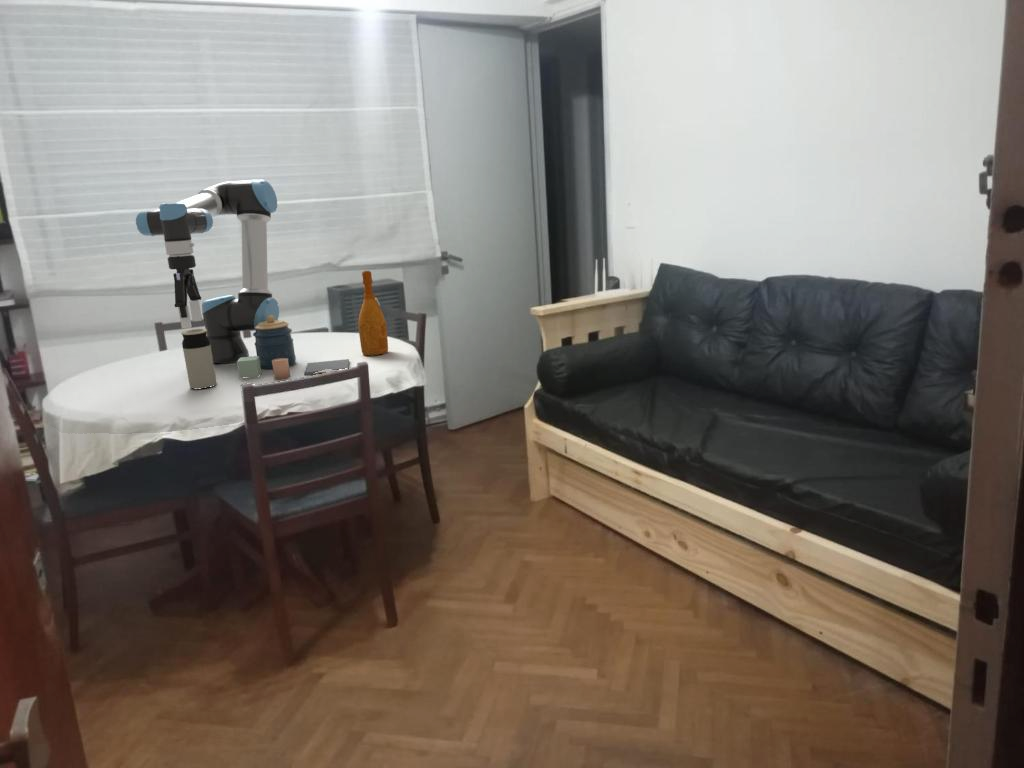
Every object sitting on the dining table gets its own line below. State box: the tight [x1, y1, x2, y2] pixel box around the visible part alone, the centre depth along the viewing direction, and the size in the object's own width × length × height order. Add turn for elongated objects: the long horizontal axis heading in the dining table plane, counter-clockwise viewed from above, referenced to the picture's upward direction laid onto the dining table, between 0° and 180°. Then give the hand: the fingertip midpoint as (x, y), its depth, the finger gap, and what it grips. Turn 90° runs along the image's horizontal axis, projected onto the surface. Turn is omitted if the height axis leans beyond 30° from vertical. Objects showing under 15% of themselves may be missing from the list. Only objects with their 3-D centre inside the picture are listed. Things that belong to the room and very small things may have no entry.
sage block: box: [236, 355, 262, 379], centre depth 240 cm, size 6×6×6 cm
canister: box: [252, 315, 297, 370], centre depth 252 cm, size 13×13×18 cm
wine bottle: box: [357, 270, 389, 356], centre depth 259 cm, size 10×10×30 cm
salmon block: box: [272, 358, 291, 381], centre depth 235 cm, size 5×5×6 cm
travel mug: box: [180, 328, 218, 389], centre depth 227 cm, size 8×8×18 cm
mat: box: [303, 358, 350, 376], centre depth 244 cm, size 14×14×1 cm
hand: (192, 324), depth 224 cm, fingers open, 13 cm apart
